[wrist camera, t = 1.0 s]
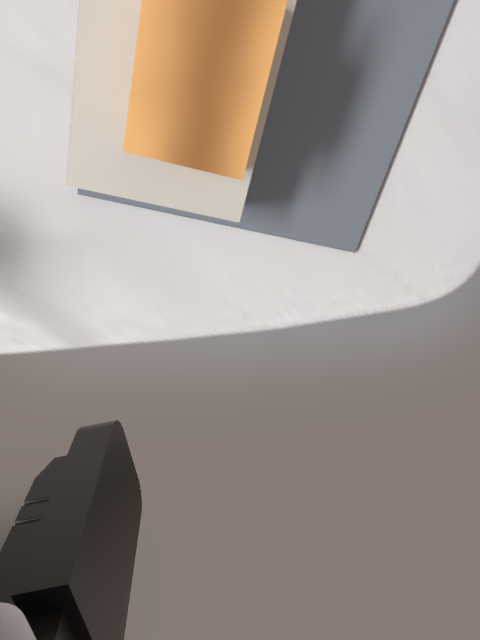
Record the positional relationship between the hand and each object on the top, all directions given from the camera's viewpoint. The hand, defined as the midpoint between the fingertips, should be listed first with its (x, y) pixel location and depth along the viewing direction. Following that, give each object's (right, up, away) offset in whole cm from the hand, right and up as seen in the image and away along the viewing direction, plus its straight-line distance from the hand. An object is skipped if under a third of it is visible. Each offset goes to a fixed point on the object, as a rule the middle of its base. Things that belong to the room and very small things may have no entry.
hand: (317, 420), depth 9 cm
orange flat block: (-4, +15, +14) cm, 20 cm away
